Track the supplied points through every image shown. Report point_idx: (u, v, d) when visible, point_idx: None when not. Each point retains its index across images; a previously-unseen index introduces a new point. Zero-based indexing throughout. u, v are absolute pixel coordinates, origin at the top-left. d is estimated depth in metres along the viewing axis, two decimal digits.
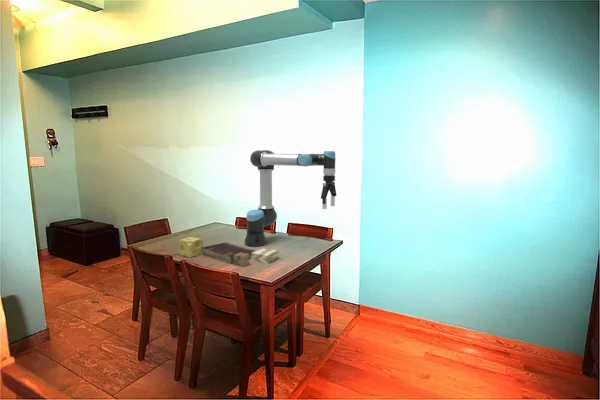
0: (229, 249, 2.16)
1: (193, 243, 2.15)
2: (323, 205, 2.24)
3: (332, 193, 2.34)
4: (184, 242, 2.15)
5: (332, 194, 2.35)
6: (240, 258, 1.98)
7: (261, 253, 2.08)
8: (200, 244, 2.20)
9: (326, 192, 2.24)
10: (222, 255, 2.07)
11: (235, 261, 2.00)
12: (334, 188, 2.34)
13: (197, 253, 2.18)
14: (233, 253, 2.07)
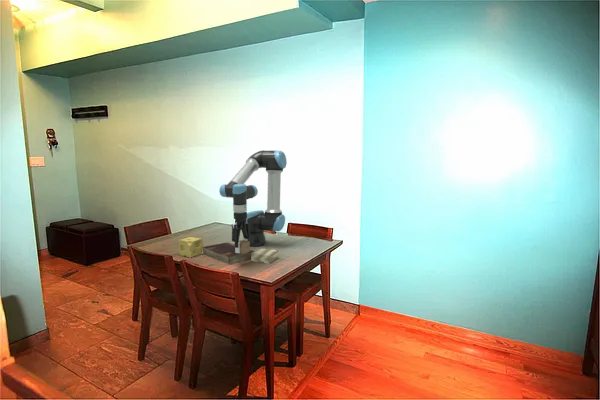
0: (229, 249, 2.16)
1: (193, 243, 2.15)
2: (236, 249, 1.98)
3: (244, 234, 2.03)
4: (184, 242, 2.15)
5: (244, 235, 2.03)
6: (240, 246, 1.97)
7: (262, 253, 2.07)
8: (200, 244, 2.20)
9: (237, 234, 1.96)
10: (221, 255, 2.07)
11: None
12: (247, 227, 2.04)
13: (197, 253, 2.18)
14: (231, 254, 2.06)
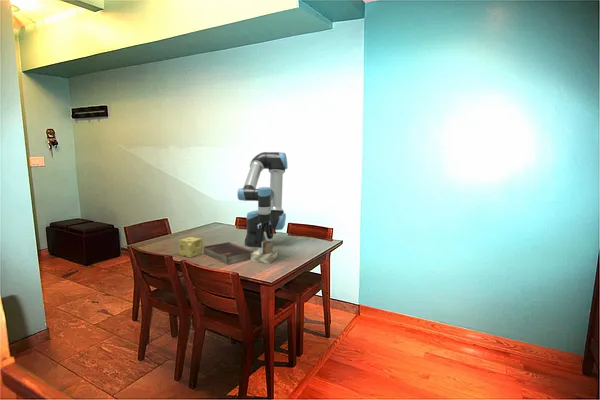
0: (229, 249, 2.16)
1: (193, 243, 2.15)
2: (259, 249, 2.06)
3: (268, 234, 2.12)
4: (184, 242, 2.15)
5: (268, 236, 2.13)
6: (264, 246, 2.06)
7: (261, 253, 2.07)
8: (200, 244, 2.20)
9: (261, 234, 2.05)
10: (220, 255, 2.07)
11: None
12: (271, 228, 2.13)
13: (197, 253, 2.18)
14: (230, 254, 2.06)
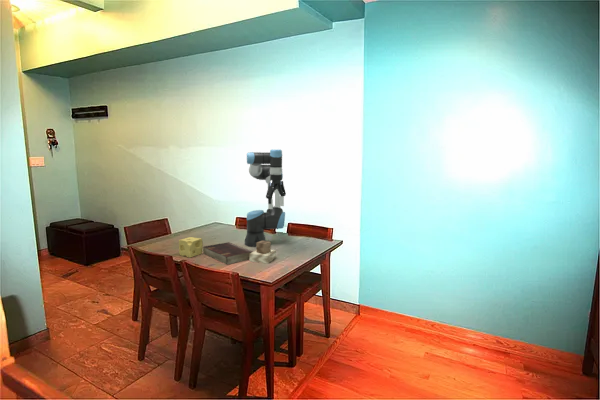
0: (228, 249, 2.16)
1: (193, 243, 2.15)
2: (269, 205, 2.18)
3: (281, 193, 2.28)
4: (184, 242, 2.15)
5: (281, 194, 2.29)
6: (262, 246, 2.06)
7: (260, 253, 2.07)
8: (200, 244, 2.20)
9: (272, 192, 2.17)
10: (219, 255, 2.07)
11: (258, 248, 2.08)
12: (283, 188, 2.28)
13: (197, 253, 2.18)
14: (230, 254, 2.06)
